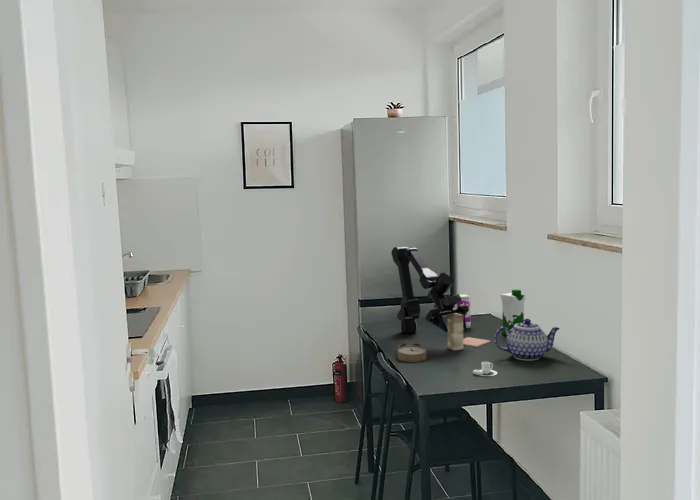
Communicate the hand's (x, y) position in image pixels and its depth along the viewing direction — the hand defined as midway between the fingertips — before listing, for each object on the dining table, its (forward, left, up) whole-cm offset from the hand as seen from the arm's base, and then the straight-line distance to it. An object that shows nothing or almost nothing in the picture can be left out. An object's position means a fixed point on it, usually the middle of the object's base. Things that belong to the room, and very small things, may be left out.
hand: (456, 330), depth 269 cm
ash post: (0, +1, -8) cm, 8 cm away
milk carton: (+25, +27, -8) cm, 37 cm away
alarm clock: (-18, -13, -8) cm, 23 cm away
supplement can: (+3, +41, -8) cm, 42 cm away
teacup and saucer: (+7, -32, -8) cm, 34 cm away
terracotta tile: (+7, +11, -8) cm, 15 cm away
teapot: (+27, -11, -8) cm, 30 cm away
